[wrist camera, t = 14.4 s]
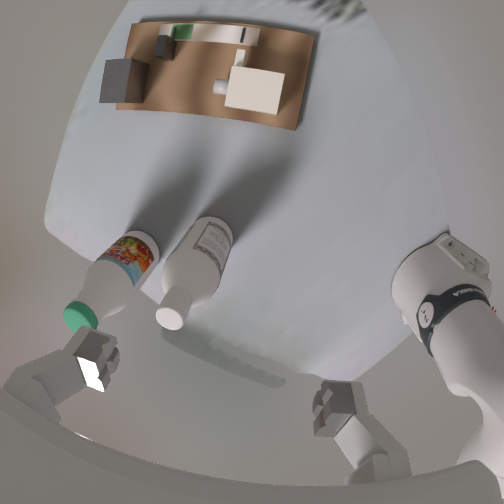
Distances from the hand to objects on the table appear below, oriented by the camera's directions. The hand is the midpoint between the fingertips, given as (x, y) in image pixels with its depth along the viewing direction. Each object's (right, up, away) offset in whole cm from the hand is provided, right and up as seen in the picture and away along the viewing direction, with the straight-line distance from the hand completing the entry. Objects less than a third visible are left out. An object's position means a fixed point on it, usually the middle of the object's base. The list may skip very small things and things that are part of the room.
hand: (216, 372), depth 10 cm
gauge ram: (+1, +26, +22) cm, 34 cm away
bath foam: (-5, +7, +34) cm, 35 cm away
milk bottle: (-18, +5, +36) cm, 41 cm away
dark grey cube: (-15, +28, +23) cm, 39 cm away
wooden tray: (-4, +30, +23) cm, 38 cm away
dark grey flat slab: (-9, +33, +20) cm, 40 cm away
